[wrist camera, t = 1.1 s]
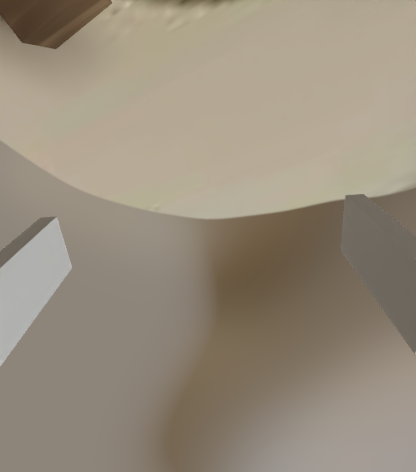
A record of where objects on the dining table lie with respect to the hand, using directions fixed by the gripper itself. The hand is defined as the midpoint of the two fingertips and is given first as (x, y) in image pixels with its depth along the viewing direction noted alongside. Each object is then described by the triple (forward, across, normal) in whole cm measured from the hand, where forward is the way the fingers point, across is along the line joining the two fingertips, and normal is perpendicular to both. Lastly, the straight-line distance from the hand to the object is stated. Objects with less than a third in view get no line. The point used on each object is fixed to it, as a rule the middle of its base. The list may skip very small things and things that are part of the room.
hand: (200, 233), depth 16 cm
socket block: (+23, -12, +13) cm, 29 cm away
